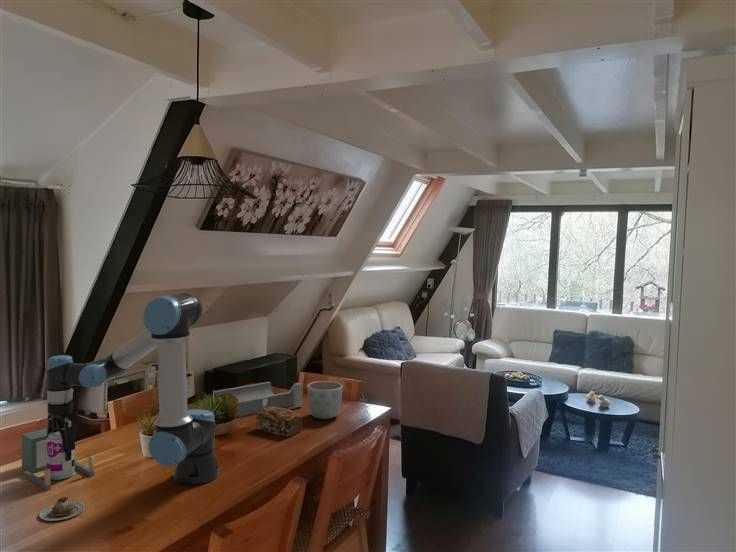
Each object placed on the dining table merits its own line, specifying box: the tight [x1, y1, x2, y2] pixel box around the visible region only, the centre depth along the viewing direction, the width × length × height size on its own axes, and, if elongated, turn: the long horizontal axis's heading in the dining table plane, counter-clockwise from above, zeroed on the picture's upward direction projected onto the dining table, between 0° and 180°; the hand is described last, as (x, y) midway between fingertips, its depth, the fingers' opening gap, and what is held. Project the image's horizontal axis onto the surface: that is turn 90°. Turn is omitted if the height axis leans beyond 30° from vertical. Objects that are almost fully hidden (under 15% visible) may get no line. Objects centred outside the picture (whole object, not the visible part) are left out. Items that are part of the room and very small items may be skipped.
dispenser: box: [21, 427, 95, 492], centre depth 189 cm, size 26×16×12 cm, turn 54°
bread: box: [255, 406, 303, 437], centre depth 239 cm, size 19×11×10 cm, turn 59°
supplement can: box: [47, 431, 75, 481], centre depth 186 cm, size 8×8×15 cm
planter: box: [306, 380, 343, 420], centre depth 260 cm, size 17×17×15 cm
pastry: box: [38, 496, 86, 522], centre depth 162 cm, size 12×12×5 cm
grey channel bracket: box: [212, 381, 304, 418], centre depth 274 cm, size 33×32×13 cm
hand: (60, 466), depth 186 cm, fingers closed on supplement can, 8 cm apart
